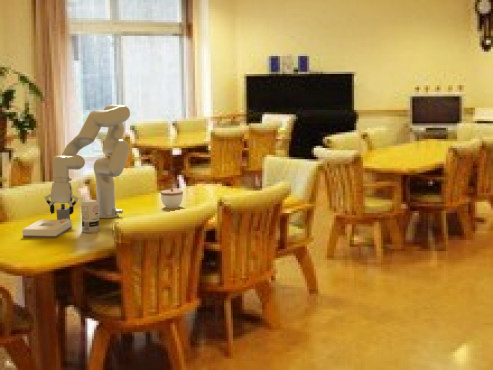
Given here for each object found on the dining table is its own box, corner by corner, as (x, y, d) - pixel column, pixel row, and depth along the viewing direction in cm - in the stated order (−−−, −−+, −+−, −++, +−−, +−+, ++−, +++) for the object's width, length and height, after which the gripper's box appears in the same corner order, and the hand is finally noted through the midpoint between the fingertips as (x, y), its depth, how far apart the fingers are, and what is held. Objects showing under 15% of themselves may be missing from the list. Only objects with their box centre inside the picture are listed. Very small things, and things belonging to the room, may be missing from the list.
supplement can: (83, 229, 355) (82, 199, 353) (100, 229, 356) (99, 199, 353) (81, 233, 347) (79, 202, 345) (98, 233, 348) (97, 202, 345)
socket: (71, 227, 360) (71, 218, 359) (55, 238, 338) (55, 228, 337) (40, 227, 361) (40, 217, 360) (22, 237, 340) (22, 227, 339)
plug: (70, 223, 370) (69, 203, 369) (66, 225, 365) (65, 205, 364) (60, 223, 371) (59, 203, 369) (57, 225, 366) (56, 205, 364)
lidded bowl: (182, 209, 405) (181, 189, 403) (159, 209, 405) (159, 189, 404) (184, 205, 418) (183, 186, 416) (162, 205, 418) (162, 186, 416)
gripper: (80, 179, 367) (80, 212, 369) (47, 178, 369) (48, 211, 371) (75, 181, 360) (75, 215, 362) (41, 180, 361) (42, 214, 364)
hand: (61, 213), depth 367 cm, fingers open, 9 cm apart
